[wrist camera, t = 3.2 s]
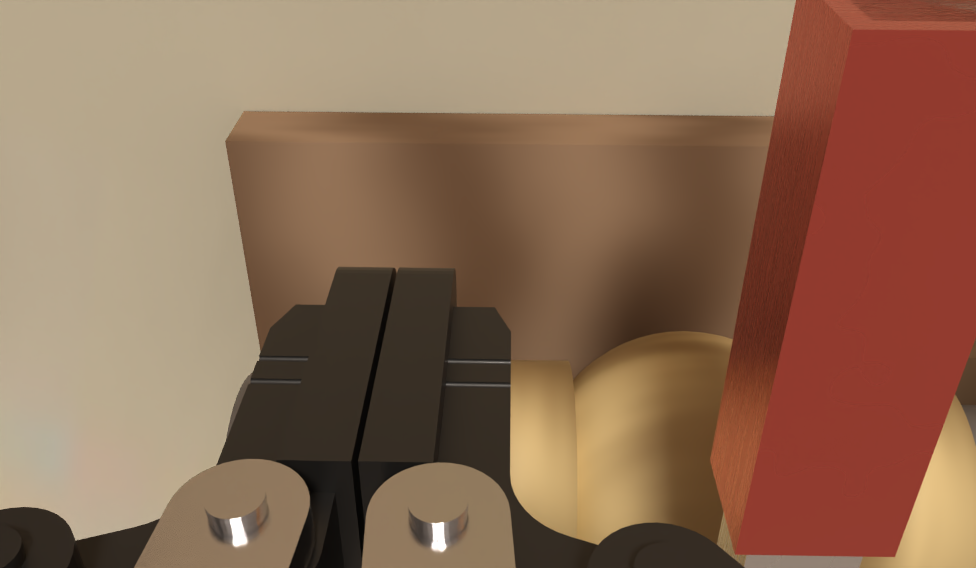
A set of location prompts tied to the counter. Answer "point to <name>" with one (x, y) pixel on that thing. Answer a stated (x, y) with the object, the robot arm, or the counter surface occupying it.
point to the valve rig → (565, 289)
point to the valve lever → (852, 285)
